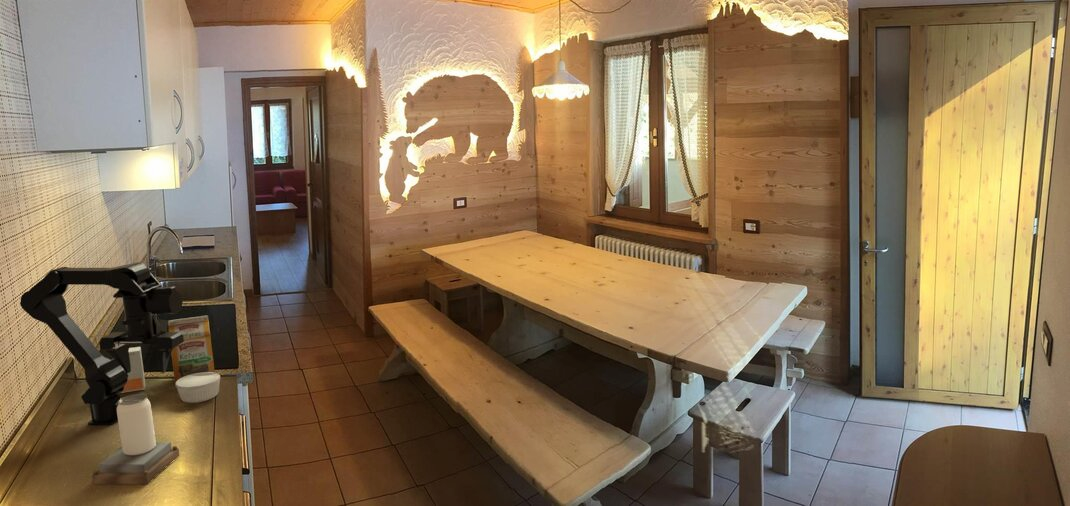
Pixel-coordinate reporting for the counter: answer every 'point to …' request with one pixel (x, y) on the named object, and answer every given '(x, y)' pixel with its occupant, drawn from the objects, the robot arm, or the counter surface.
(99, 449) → the counter surface
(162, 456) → the whetstone on wooden base
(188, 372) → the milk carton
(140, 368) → the skincare box
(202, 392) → the ramekin
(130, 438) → the can
